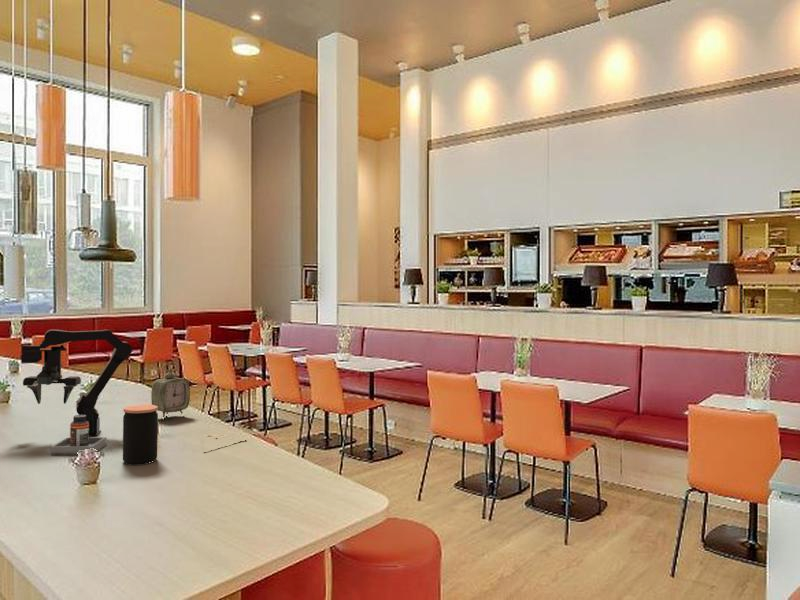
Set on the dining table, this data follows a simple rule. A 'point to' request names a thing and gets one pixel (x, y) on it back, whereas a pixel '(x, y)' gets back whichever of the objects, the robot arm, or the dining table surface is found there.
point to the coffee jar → (140, 434)
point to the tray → (66, 449)
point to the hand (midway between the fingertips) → (52, 403)
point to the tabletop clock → (170, 392)
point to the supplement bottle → (79, 431)
